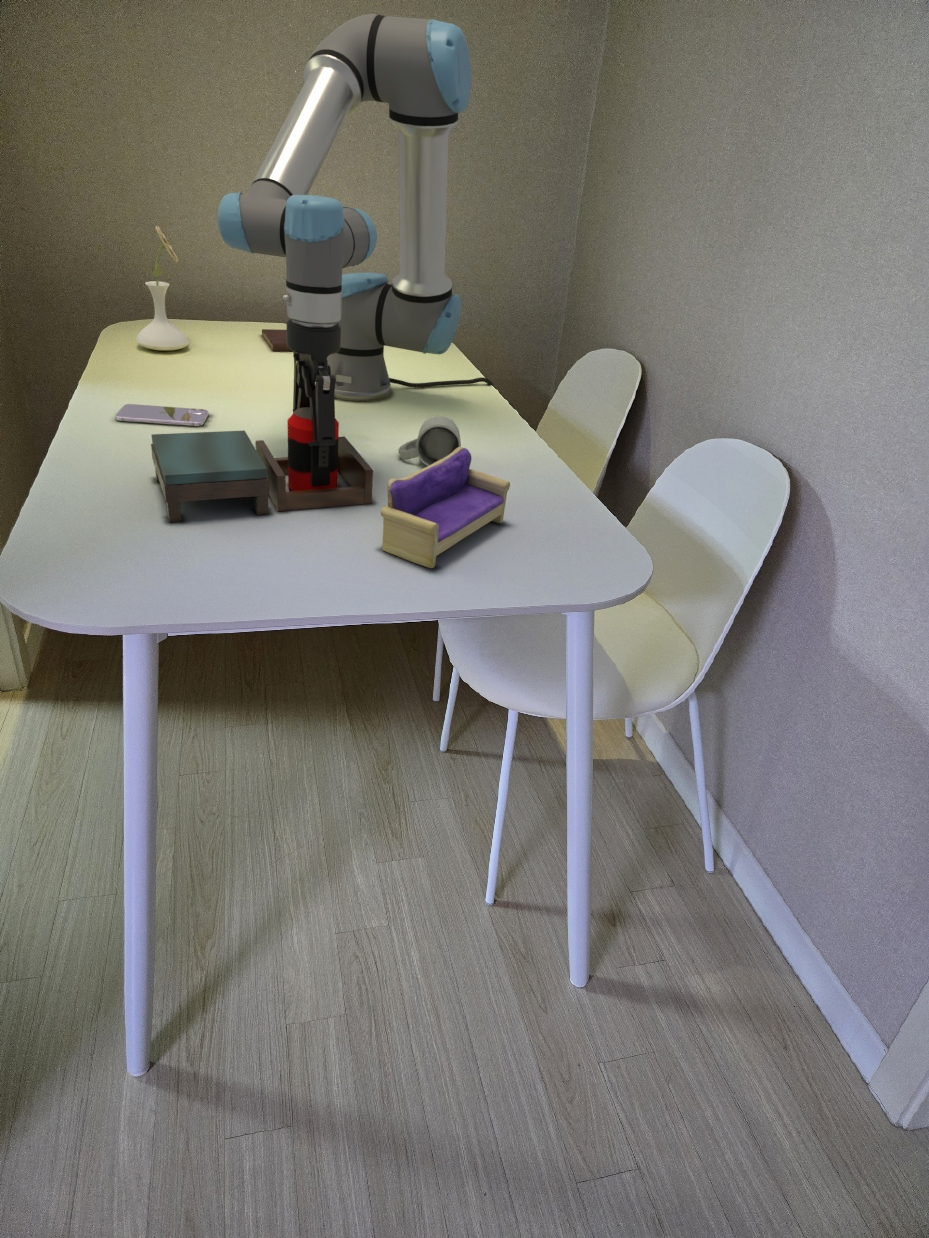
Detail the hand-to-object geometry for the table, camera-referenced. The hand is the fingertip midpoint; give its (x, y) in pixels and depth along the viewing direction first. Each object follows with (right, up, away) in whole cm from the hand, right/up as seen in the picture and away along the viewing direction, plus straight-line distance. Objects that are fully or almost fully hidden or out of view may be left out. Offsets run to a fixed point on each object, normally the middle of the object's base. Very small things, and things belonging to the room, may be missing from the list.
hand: (313, 474), depth 123 cm
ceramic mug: (+17, +5, +17) cm, 24 cm away
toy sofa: (+21, -11, -8) cm, 25 cm away
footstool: (-14, -4, -5) cm, 16 cm away
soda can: (0, -2, +1) cm, 3 cm away
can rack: (0, -2, +1) cm, 2 cm away
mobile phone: (-31, +14, +20) cm, 39 cm away
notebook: (-16, +46, +74) cm, 89 cm away
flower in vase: (-45, +40, +59) cm, 84 cm away
